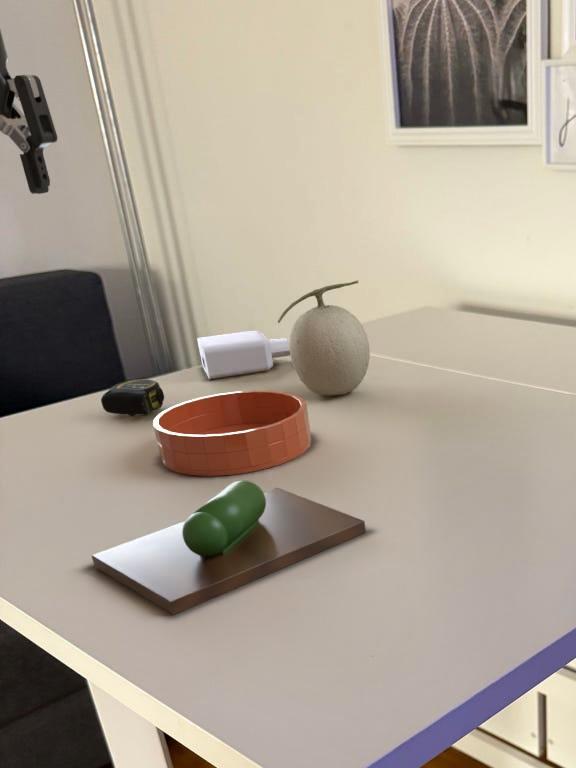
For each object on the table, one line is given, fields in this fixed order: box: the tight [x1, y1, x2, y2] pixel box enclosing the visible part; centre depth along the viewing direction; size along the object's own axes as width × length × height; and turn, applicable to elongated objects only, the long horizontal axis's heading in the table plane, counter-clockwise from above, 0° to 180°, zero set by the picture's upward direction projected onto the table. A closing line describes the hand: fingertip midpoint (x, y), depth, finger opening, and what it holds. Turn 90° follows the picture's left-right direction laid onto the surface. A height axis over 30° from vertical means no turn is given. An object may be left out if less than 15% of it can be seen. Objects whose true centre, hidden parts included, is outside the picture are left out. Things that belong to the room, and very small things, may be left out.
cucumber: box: [182, 480, 266, 557], centre depth 83 cm, size 11×4×4 cm, turn 165°
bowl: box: [152, 390, 312, 477], centre depth 108 cm, size 17×17×4 cm
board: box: [91, 487, 367, 615], centre depth 84 cm, size 20×14×1 cm
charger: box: [196, 329, 290, 380], centre depth 142 cm, size 5×9×15 cm
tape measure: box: [100, 378, 165, 418], centre depth 124 cm, size 7×7×4 cm
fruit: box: [277, 279, 371, 397], centre depth 123 cm, size 10×12×15 cm
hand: (5, 194), depth 98 cm, fingers open, 8 cm apart
